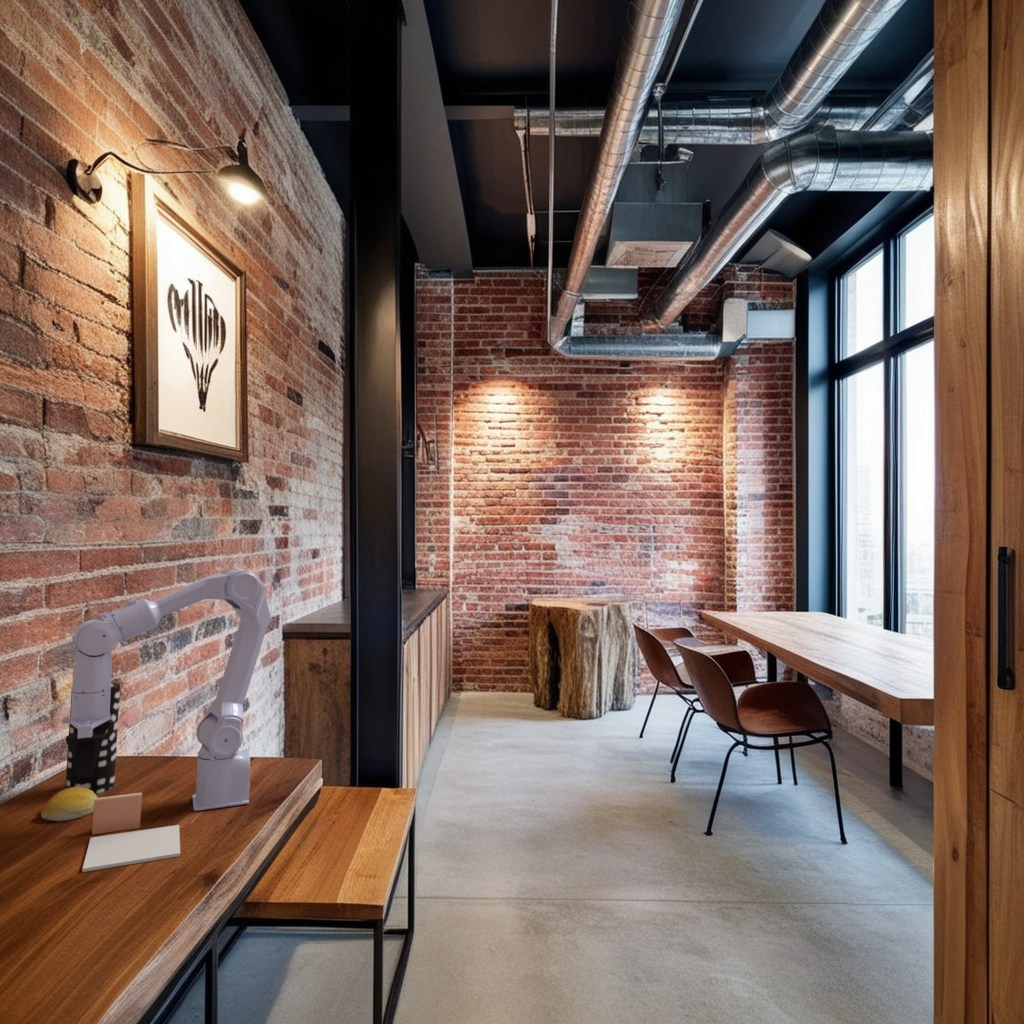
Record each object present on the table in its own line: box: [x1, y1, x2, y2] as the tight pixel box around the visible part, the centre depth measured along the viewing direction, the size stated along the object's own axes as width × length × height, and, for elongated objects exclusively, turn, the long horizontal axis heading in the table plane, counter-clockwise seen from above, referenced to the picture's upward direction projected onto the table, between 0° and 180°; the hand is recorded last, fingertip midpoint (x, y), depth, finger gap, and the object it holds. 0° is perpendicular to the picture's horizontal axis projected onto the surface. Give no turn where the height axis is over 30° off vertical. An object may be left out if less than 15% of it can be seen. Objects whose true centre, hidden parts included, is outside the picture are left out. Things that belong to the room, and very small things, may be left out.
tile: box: [91, 792, 143, 835], centre depth 115 cm, size 7×1×6 cm, turn 117°
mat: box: [81, 824, 181, 873], centre depth 108 cm, size 13×12×1 cm
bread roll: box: [40, 787, 98, 822], centre depth 122 cm, size 8×9×4 cm
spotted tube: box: [64, 681, 121, 795], centre depth 135 cm, size 8×8×20 cm
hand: (87, 770), depth 116 cm, fingers open, 7 cm apart
